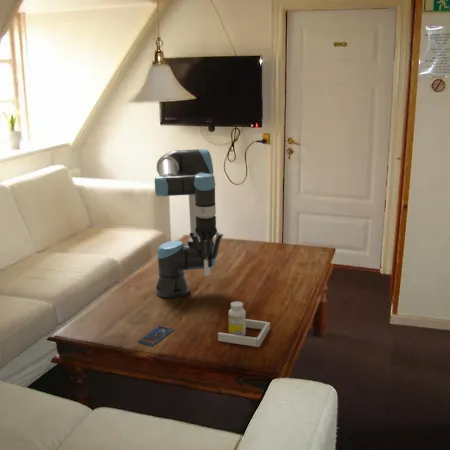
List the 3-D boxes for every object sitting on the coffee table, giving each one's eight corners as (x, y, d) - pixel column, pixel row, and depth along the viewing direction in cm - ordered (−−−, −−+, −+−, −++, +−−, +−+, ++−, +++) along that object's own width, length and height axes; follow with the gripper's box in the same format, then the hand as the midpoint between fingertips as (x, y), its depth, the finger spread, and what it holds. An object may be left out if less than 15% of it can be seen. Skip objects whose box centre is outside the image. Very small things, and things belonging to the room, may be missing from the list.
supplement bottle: (236, 328, 230) (236, 298, 227) (249, 333, 226) (249, 303, 223) (225, 334, 226) (224, 304, 222) (238, 339, 221) (238, 308, 218)
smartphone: (136, 341, 221) (159, 325, 234) (136, 343, 221) (159, 327, 234) (152, 345, 218) (174, 329, 230) (153, 347, 218) (174, 331, 230)
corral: (218, 340, 221) (218, 333, 220) (231, 323, 235) (230, 317, 234) (259, 347, 216) (259, 339, 215) (269, 329, 229) (269, 322, 229)
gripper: (185, 217, 215) (188, 276, 222) (218, 219, 211) (220, 280, 218) (193, 211, 222) (195, 269, 229) (225, 214, 218) (226, 272, 225)
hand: (207, 274), depth 224 cm, fingers closed
